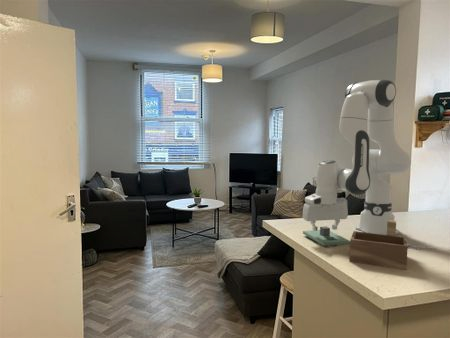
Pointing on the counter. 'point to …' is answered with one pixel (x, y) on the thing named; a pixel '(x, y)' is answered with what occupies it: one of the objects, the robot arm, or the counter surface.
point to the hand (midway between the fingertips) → (324, 229)
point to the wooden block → (391, 227)
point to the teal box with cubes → (326, 237)
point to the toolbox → (379, 250)
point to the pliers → (418, 247)
